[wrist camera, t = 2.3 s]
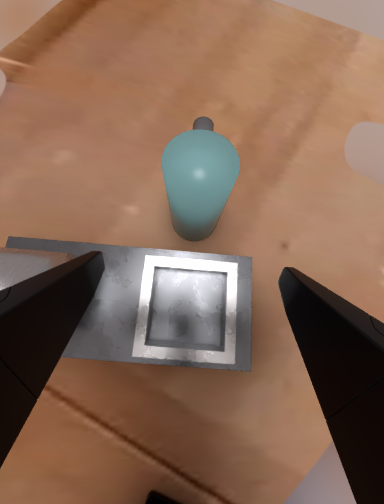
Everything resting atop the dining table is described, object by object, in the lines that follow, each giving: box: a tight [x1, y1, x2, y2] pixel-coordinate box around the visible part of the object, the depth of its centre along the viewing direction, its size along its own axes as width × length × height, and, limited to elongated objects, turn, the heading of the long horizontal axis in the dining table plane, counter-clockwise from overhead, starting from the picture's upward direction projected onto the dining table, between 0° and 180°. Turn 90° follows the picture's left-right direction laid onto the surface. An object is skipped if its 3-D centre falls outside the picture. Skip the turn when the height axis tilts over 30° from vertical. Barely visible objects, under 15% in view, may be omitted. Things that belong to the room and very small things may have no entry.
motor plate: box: [0, 236, 252, 372], centre depth 16 cm, size 28×12×11 cm, turn 85°
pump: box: [162, 117, 240, 241], centre depth 19 cm, size 8×6×11 cm
